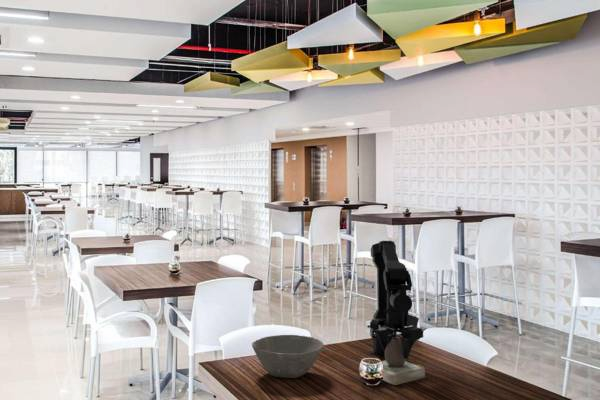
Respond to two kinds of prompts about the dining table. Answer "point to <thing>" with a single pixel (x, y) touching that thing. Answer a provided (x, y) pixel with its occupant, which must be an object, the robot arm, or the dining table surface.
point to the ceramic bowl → (287, 354)
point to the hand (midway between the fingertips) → (395, 355)
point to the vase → (394, 353)
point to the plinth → (402, 373)
